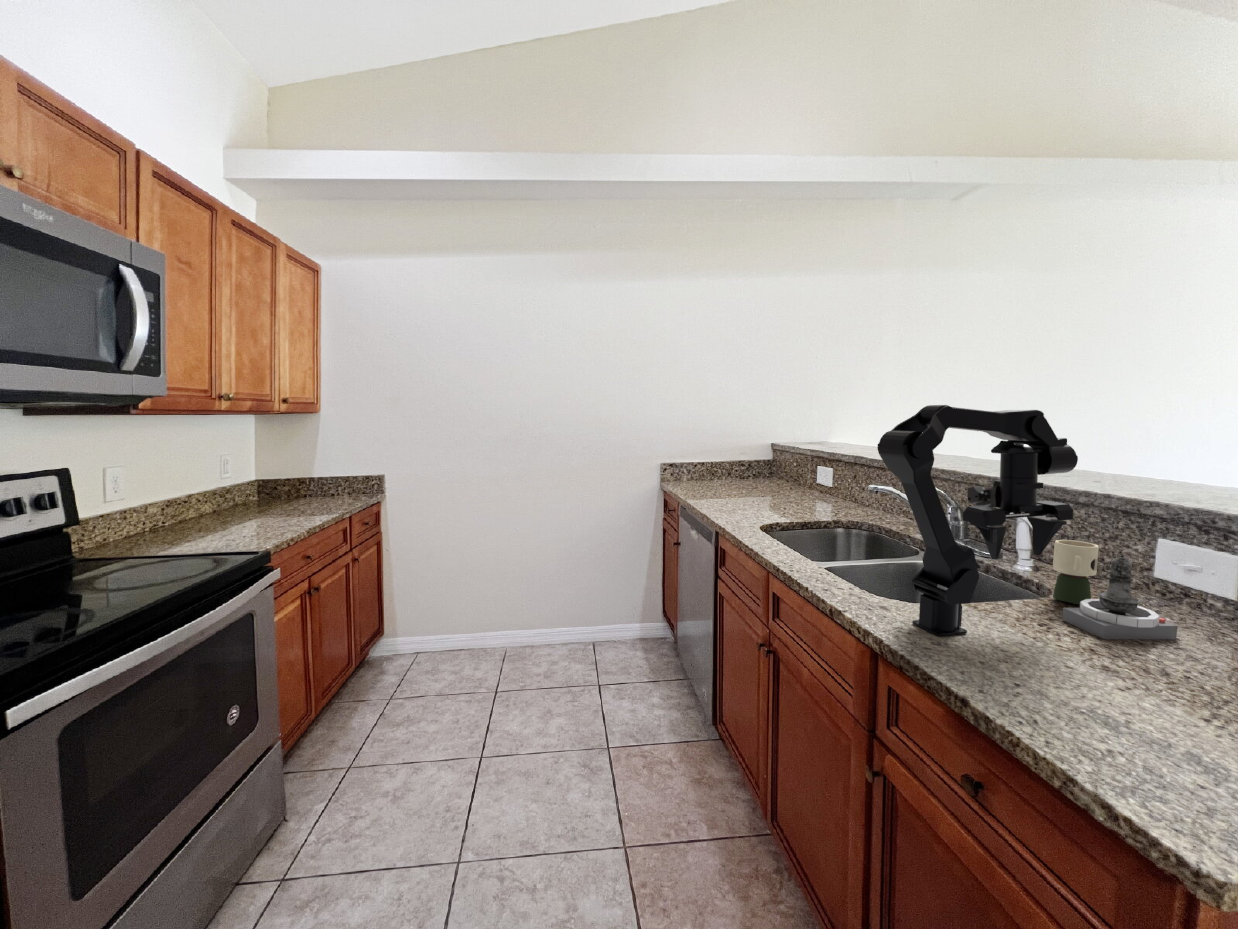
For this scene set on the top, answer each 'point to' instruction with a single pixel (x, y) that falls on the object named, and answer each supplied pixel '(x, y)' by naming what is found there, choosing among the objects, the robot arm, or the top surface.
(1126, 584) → the grey stone finial
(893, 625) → the top surface
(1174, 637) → the faceted bowl on plate
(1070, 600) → the character mug
